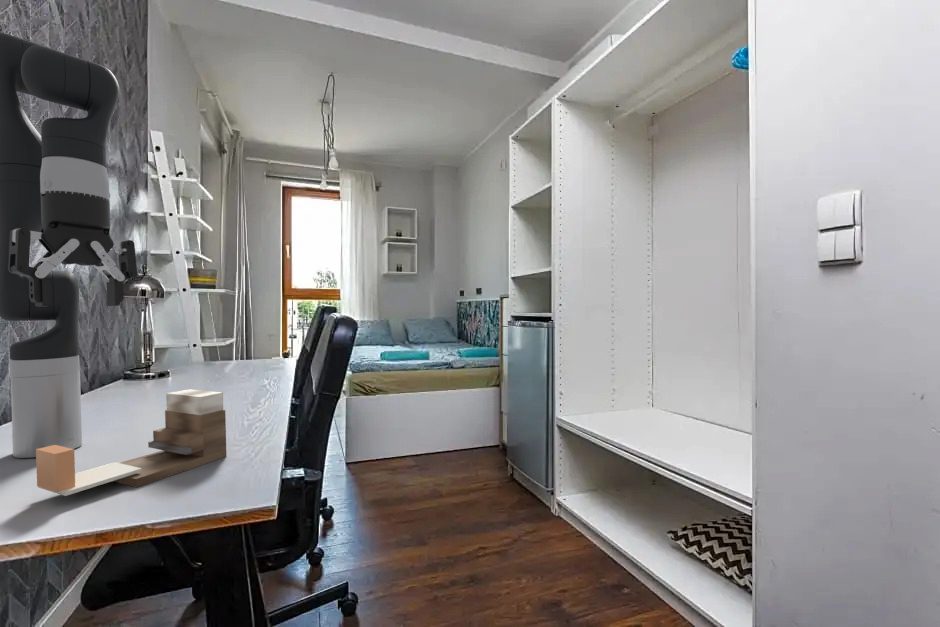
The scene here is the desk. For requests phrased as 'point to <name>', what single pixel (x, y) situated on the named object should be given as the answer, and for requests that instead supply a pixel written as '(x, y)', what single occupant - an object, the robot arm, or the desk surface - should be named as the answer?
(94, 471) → the plank with orange cube
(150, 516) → the desk surface
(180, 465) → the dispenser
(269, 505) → the desk surface
